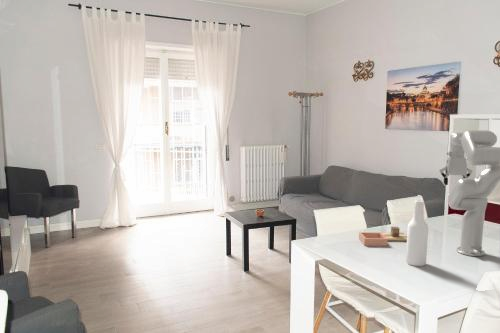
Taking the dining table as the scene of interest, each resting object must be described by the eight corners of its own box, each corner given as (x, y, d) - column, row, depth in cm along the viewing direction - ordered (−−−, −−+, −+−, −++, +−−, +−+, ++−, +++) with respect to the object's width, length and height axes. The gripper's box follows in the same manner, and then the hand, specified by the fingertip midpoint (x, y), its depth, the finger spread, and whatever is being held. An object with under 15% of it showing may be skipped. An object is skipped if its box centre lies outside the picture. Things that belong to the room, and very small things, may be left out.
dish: (387, 247, 211) (387, 238, 210) (364, 246, 211) (364, 238, 211) (380, 240, 223) (380, 232, 222) (358, 240, 223) (359, 232, 223)
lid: (411, 241, 218) (412, 231, 218) (386, 241, 219) (386, 230, 218) (403, 234, 232) (403, 224, 232) (378, 234, 233) (379, 224, 232)
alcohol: (409, 258, 193) (412, 198, 190) (428, 263, 188) (432, 200, 184) (403, 263, 186) (406, 200, 183) (422, 268, 181) (426, 203, 177)
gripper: (443, 155, 220) (441, 185, 222) (476, 155, 218) (473, 186, 220) (438, 153, 227) (436, 183, 229) (470, 154, 225) (467, 184, 227)
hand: (454, 184), depth 225 cm, fingers open, 9 cm apart
